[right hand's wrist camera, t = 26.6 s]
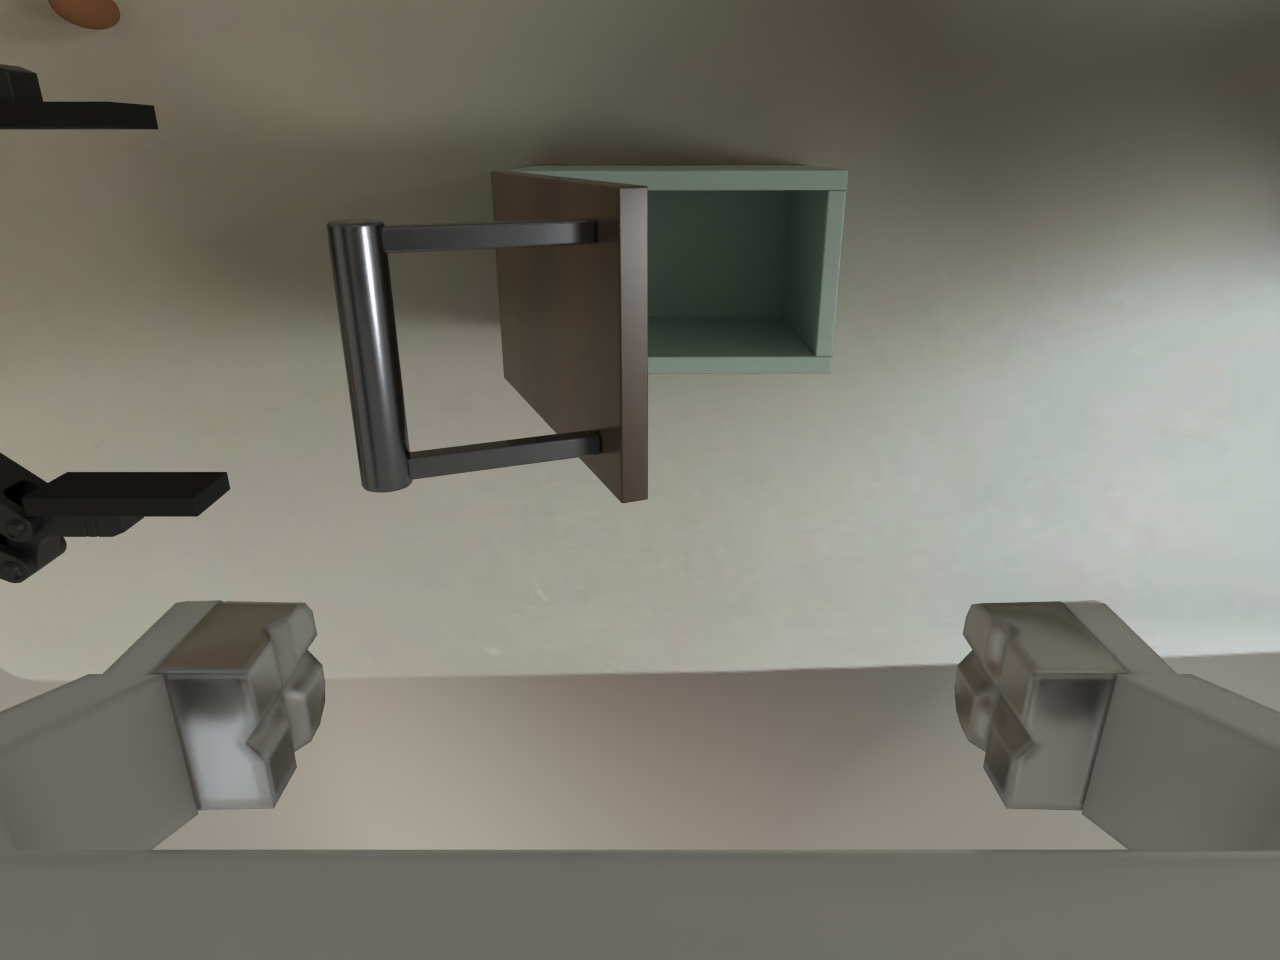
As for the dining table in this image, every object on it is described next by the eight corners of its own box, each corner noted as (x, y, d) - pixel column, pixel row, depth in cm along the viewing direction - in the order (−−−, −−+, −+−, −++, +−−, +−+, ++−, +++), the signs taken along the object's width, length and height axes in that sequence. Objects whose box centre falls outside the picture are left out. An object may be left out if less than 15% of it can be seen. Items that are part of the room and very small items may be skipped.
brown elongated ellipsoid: (124, 42, 46) (65, 31, 41) (89, 18, 46) (26, 3, 41) (138, 8, 45) (81, -7, 41) (103, -16, 45) (41, -35, 40)
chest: (803, 164, 48) (849, 170, 38) (793, 328, 52) (831, 373, 42) (531, 165, 48) (502, 170, 38) (539, 328, 52) (514, 374, 42)
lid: (648, 185, 23) (324, 192, 20) (648, 499, 27) (371, 543, 24) (510, 171, 38) (309, 173, 35) (522, 376, 41) (340, 393, 38)
